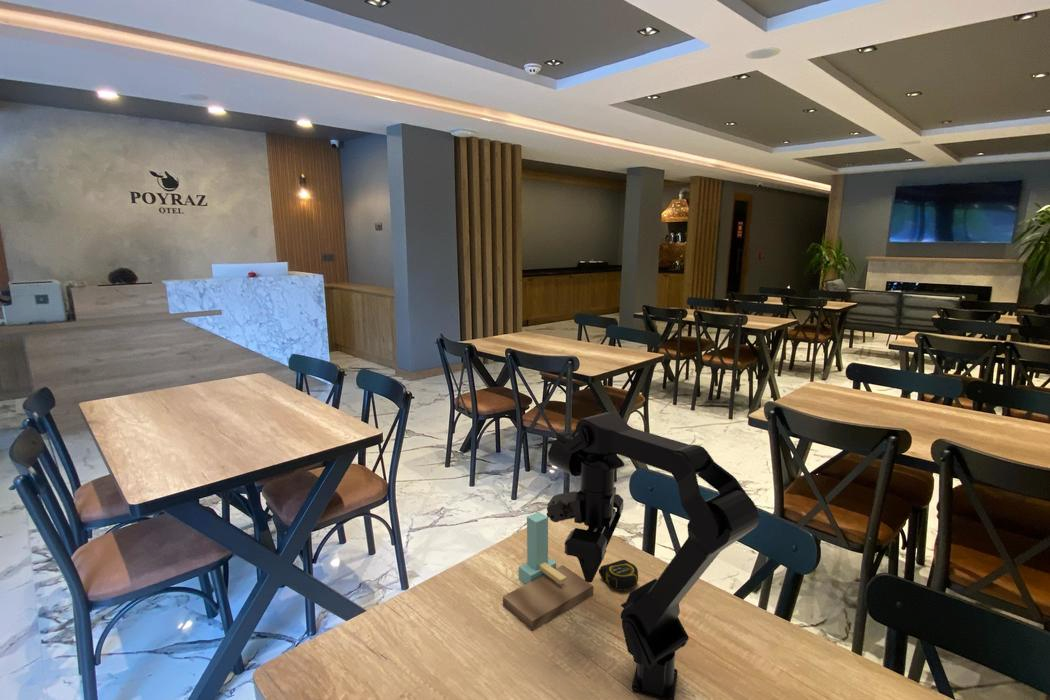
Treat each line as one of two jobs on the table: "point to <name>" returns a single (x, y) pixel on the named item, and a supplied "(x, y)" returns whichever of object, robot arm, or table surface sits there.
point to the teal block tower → (538, 552)
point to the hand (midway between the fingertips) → (595, 566)
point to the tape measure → (620, 575)
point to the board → (547, 598)
